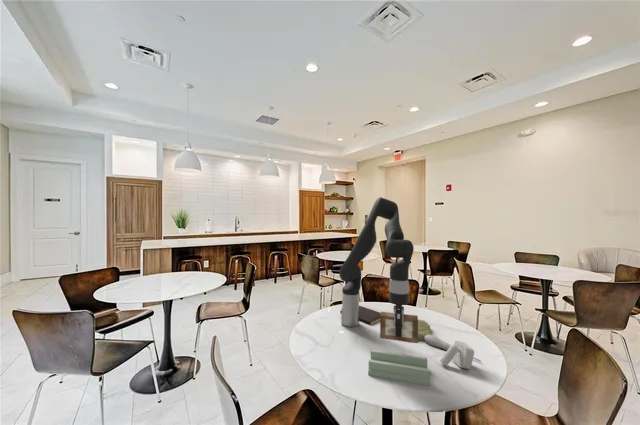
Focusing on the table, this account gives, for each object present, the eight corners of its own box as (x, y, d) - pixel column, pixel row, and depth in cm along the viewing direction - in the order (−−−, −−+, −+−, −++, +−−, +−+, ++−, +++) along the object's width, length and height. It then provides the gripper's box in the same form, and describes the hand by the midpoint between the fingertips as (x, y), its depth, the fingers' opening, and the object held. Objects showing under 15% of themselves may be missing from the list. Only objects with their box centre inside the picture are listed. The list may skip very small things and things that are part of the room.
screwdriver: (479, 369, 113) (479, 360, 112) (422, 343, 132) (422, 335, 131) (483, 362, 116) (483, 353, 115) (427, 338, 135) (427, 330, 134)
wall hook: (434, 359, 116) (440, 336, 116) (457, 364, 117) (462, 341, 117) (444, 370, 108) (450, 345, 108) (468, 375, 109) (475, 350, 109)
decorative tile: (398, 340, 135) (398, 333, 135) (391, 323, 155) (391, 317, 155) (437, 342, 133) (437, 335, 133) (425, 325, 153) (426, 319, 153)
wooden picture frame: (380, 338, 108) (380, 315, 108) (380, 333, 112) (381, 311, 112) (417, 343, 104) (418, 319, 104) (417, 338, 108) (417, 315, 108)
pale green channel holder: (368, 374, 106) (368, 363, 106) (371, 358, 117) (371, 348, 117) (429, 385, 99) (429, 373, 99) (426, 367, 111) (426, 356, 111)
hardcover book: (357, 308, 179) (357, 304, 179) (387, 318, 162) (387, 314, 162) (340, 314, 168) (340, 310, 168) (370, 326, 151) (370, 322, 151)
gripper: (409, 296, 100) (409, 343, 100) (408, 286, 114) (408, 327, 114) (388, 294, 102) (387, 340, 102) (389, 284, 116) (389, 325, 116)
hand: (398, 333), depth 108 cm, fingers closed on wooden picture frame, 4 cm apart
